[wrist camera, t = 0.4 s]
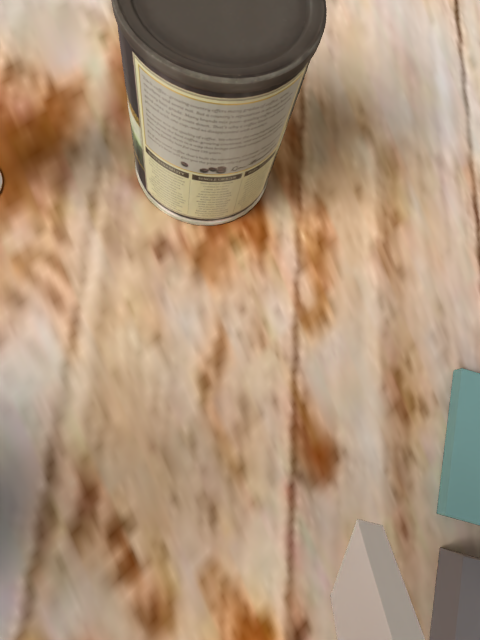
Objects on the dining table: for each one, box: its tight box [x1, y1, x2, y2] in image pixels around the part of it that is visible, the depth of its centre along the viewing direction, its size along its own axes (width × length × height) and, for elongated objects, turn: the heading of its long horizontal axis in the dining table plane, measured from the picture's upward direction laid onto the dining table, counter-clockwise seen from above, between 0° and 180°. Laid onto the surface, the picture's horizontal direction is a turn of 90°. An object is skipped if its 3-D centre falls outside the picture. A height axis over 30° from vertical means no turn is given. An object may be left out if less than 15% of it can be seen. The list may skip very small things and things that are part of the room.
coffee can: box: [112, 0, 326, 225], centre depth 28 cm, size 10×10×14 cm
